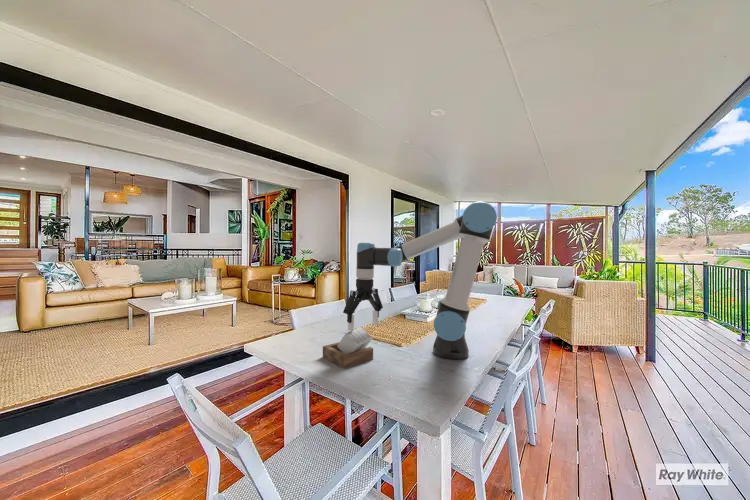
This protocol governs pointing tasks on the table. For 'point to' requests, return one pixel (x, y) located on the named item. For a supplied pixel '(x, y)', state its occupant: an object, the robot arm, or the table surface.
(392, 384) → the table surface
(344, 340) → the supplement box
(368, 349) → the u rest
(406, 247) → the robot arm
